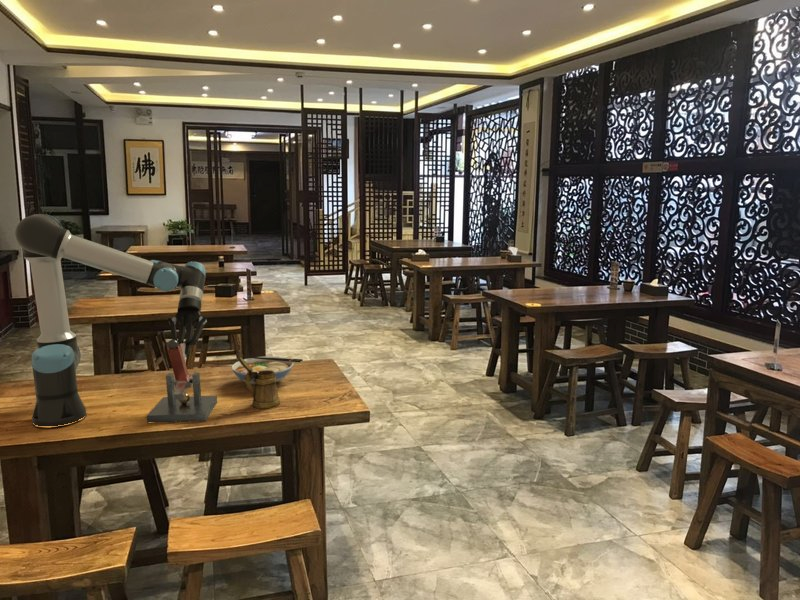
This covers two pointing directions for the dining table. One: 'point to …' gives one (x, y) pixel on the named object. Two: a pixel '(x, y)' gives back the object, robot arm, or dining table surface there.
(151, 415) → the stand
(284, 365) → the ramen bowl
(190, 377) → the lever
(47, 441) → the dining table surface
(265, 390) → the wooden mug
